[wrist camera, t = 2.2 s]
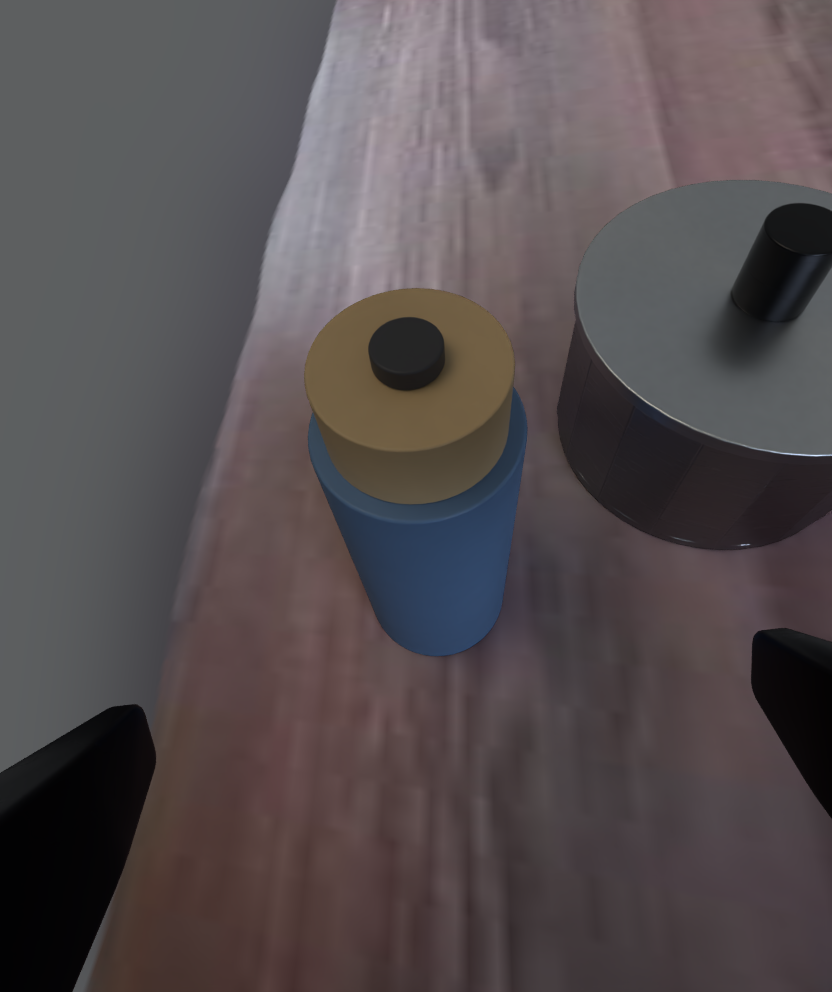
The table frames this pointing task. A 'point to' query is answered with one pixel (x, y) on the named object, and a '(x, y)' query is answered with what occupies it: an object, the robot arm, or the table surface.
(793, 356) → the pot lid
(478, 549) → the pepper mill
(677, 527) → the pot
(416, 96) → the table surface
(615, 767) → the table surface
